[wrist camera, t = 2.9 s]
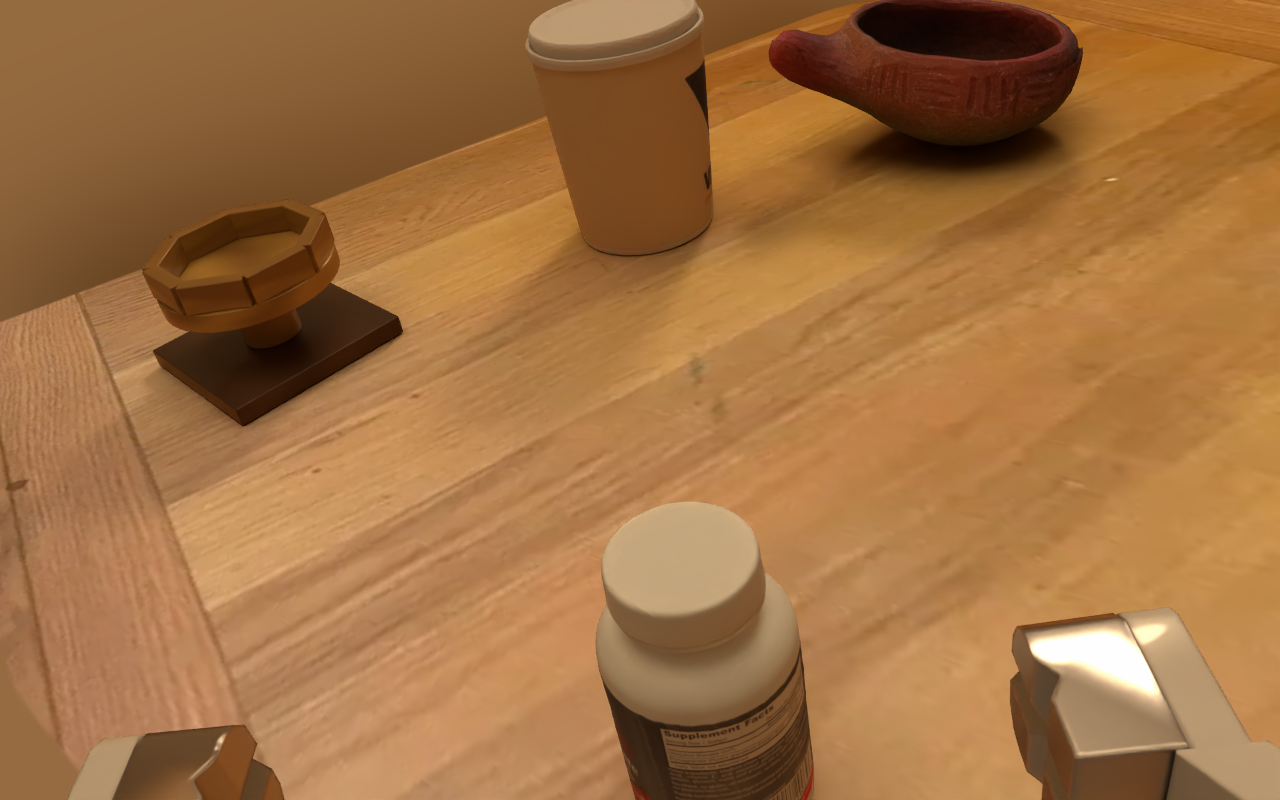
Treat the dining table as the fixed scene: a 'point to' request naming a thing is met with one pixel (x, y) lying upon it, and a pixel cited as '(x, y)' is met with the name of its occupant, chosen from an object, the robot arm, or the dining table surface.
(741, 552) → the pill bottle
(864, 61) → the bowl
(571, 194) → the coffee cup
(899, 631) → the dining table surface
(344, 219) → the dining table surface
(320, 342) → the cup holder
